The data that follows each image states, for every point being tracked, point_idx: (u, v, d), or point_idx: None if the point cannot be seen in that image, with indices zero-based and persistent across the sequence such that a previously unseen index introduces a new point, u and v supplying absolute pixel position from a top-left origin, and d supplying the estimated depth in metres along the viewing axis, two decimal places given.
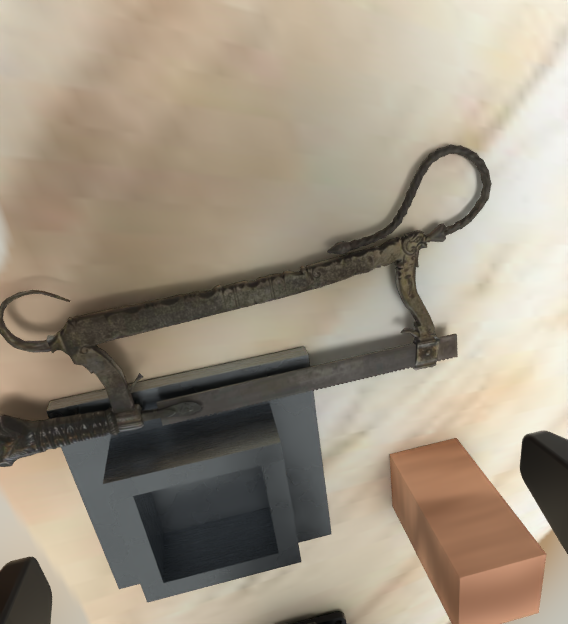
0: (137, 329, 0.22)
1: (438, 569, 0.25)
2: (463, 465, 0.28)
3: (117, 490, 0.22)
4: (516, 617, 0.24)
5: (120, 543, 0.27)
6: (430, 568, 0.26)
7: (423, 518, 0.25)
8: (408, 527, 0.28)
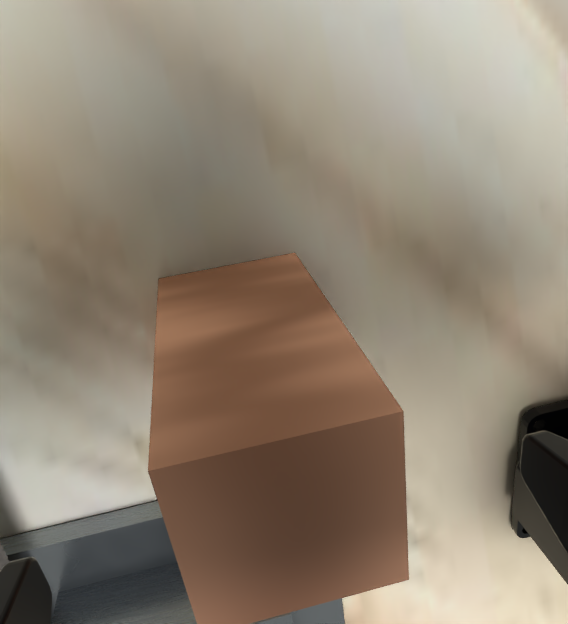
0: None
1: None
2: None
3: None
4: (399, 465, 0.09)
5: None
6: None
7: None
8: None
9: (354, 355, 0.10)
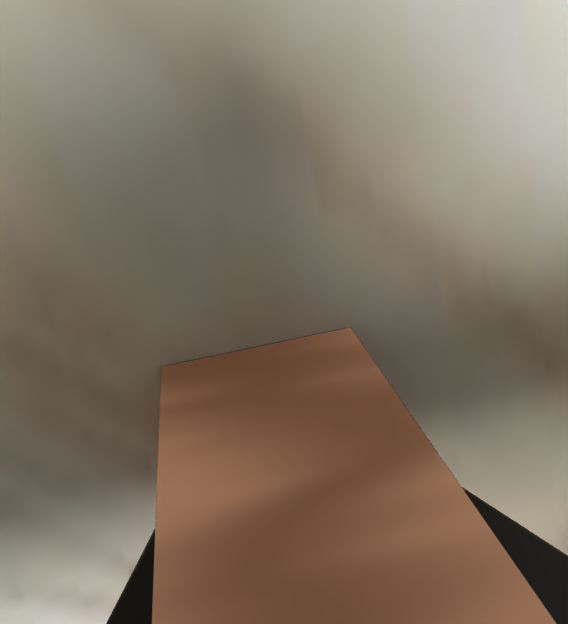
0: None
1: None
2: None
3: None
4: None
5: None
6: None
7: None
8: None
9: (509, 583, 0.06)
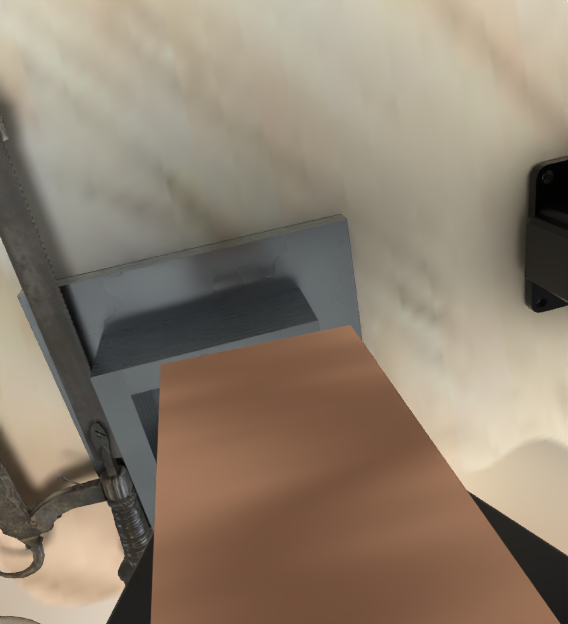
0: (1, 483, 0.20)
1: None
2: None
3: None
4: None
5: None
6: None
7: None
8: None
9: (510, 579, 0.06)
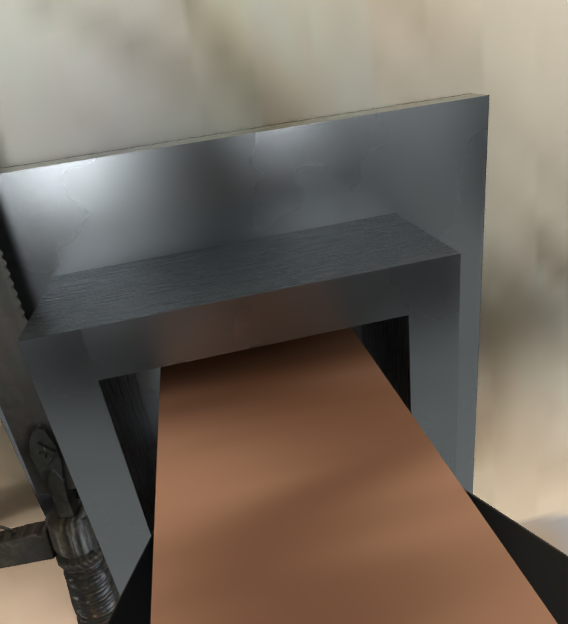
0: None
1: None
2: None
3: None
4: None
5: None
6: None
7: None
8: None
9: (509, 582, 0.06)
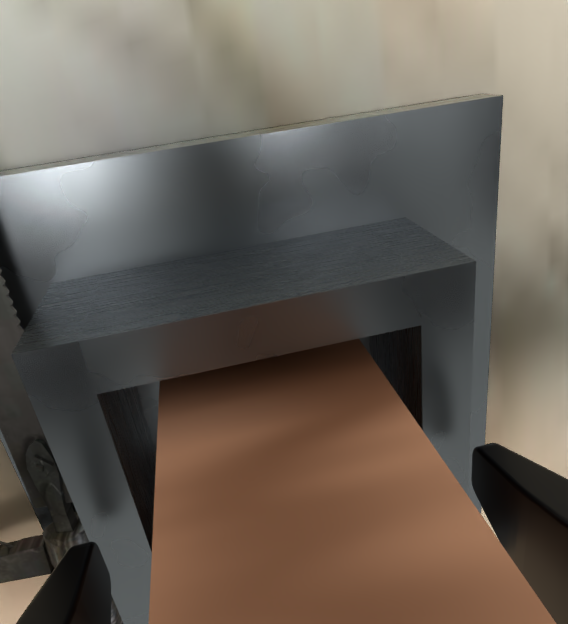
0: None
1: None
2: None
3: None
4: None
5: None
6: None
7: None
8: None
9: (454, 500, 0.07)
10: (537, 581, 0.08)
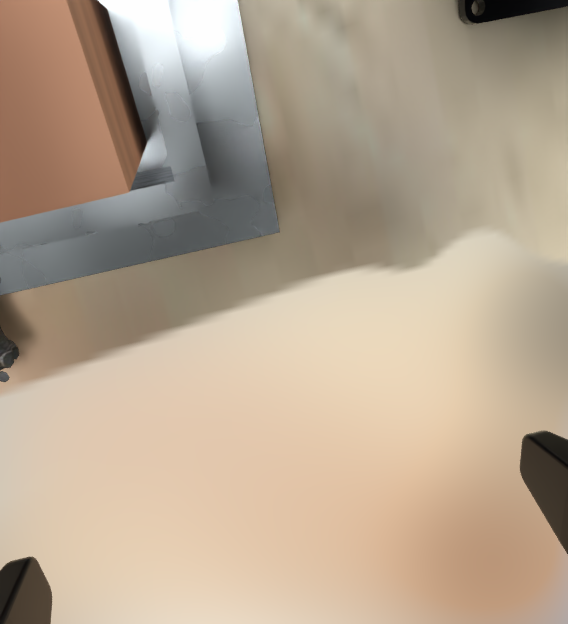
0: None
1: None
2: None
3: None
4: (71, 33, 0.09)
5: (189, 227, 0.19)
6: None
7: None
8: None
9: None
10: None
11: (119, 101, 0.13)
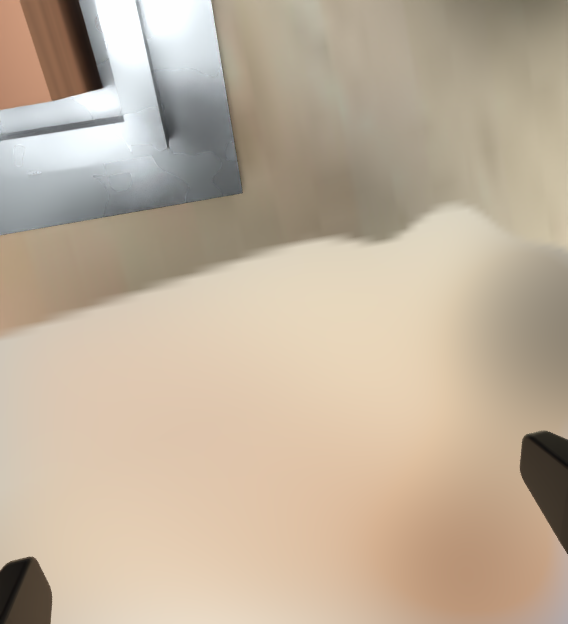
0: None
1: None
2: None
3: None
4: None
5: (147, 182, 0.18)
6: None
7: None
8: None
9: None
10: None
11: (58, 21, 0.12)
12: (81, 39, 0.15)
